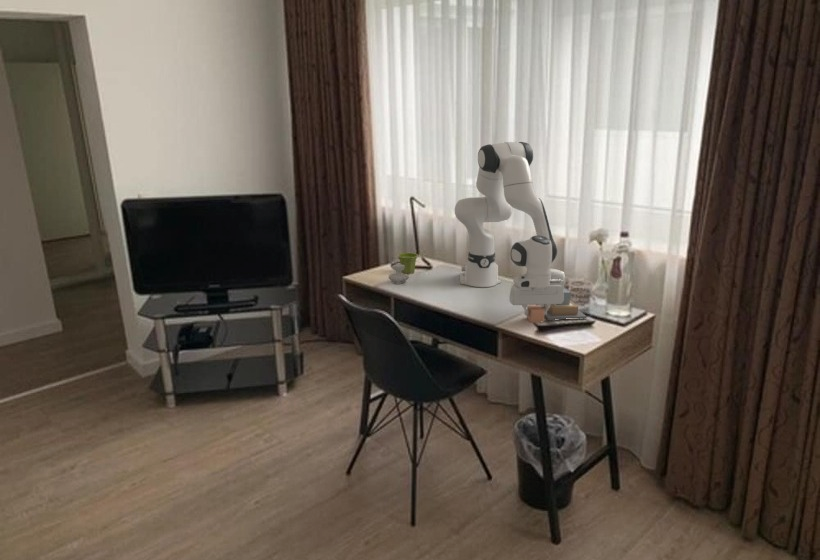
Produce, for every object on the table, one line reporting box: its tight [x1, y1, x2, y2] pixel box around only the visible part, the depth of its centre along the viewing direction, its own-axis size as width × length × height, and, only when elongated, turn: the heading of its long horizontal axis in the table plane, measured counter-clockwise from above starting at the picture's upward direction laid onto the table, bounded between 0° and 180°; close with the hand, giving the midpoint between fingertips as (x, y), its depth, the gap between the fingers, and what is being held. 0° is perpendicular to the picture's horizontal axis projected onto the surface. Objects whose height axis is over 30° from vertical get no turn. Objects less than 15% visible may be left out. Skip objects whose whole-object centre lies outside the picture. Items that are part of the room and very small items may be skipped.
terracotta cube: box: [526, 305, 545, 323], centre depth 226 cm, size 5×5×5 cm
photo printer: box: [550, 268, 566, 283], centre depth 250 cm, size 10×4×12 cm, turn 66°
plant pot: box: [397, 252, 419, 275], centre depth 285 cm, size 9×9×9 cm
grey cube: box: [556, 287, 571, 305], centre depth 232 cm, size 5×5×5 cm
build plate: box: [539, 299, 587, 321], centre depth 233 cm, size 15×15×4 cm
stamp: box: [388, 263, 410, 285], centre depth 270 cm, size 9×7×8 cm
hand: (535, 314), depth 226 cm, fingers open, 5 cm apart
